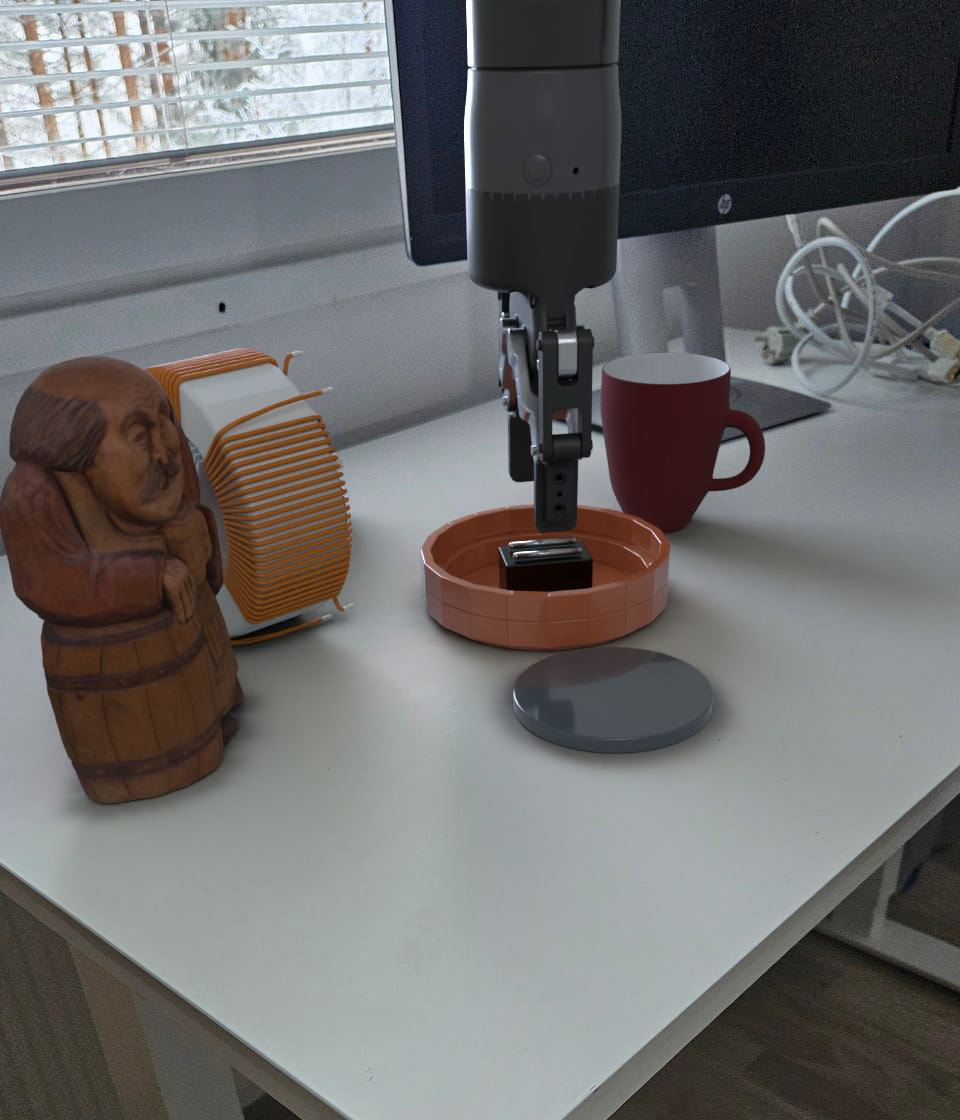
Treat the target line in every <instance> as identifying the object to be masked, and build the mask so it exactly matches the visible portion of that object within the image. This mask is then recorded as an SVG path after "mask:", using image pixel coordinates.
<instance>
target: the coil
mask: <svg viewBox="0 0 960 1120" xmlns="http://www.w3.org/2000/svg"><path fill="white" fill-rule="evenodd" d="M304 355H305V352H304V351H303V350H297V351H293V352H289V353H287V354H286V356H285V357H284V360H283V366H282V367H283V368H282V370H281V368H279V364H278V361H277V360H276V359H275V358H273V357H272V356H271V355H268V354H266V353H264V352H262V351H260V350H256V349H252V348H242V347H241V348H234V349H229V350H225V351H220V352H215V353H210V354H204V355H200V356H195V357H190V358H186V359H182V360H175V361H172V362H167V363H162V364H157V365H153V366H149V367H147V368H143V370H146V371H147V372H149V373H150V374H152V375H153V376H154V377H155V378H156V379H157V381H158V382H159V383H160V385H161V386H162V387H163V389H164V390H165V392H166V395H167V397H168V399H169V400H170V402H171V404H172V406H173V408H174V415H175V416H176V417H177V419H178V421H179V423H180V425H181V427H182V429H183V431H184V433H185V436H186V438H187V441H188V443H189V446H190V449H191V452H192V455H193V459H194V463H195V466H196V470H197V475H198V479H199V487H200V502H201V504H202V505H205V506H207V507H209V508H210V509H211V510H212V511H213V513H214V516H215V520H216V524H217V530H218V537H219V542H220V549H221V557H222V565H223V584H222V587H221V589H220V591H219V593H218V594H217V595H216V600H217V602H218V604H219V607H220V609H221V612H222V615H223V617H224V620H225V623H226V627H227V631H228V635H229V639H230V643H231V646H242V645H251V644H254V643H259V642H263V641H266V640H271V639H273V638H278V637H282V636H284V635H287V634H290V633H293V632H296V631H300V630H302V629H305V628H308V627H311V626H314V625H317V624H319V623H321V622H325V621H327V620H330V619H333V614H332V613H329V614H326V615H323V616H320V617H317V618H315V619H312V620H308V621H306V622H303V623H300V624H297V625H293V626H291V627H288V628H286V629H282V630H280V631H279V630H278V631H276V632H272V633H267V634H263V635H258V636H253V637H248V638H247V637H246V638H242V639H237V640H234V639H236V638H240V637H242V636H245V635H248V634H251V633H254V632H256V631H259V630H262V629H265V628H269V627H270V626H274V625H277V624H279V623H283V622H285V621H288V620H291V619H294V618H297V617H299V616H302V615H304V614H306V613H309V612H312V611H314V610H318V609H320V608H321V607H322V606H323V605H325V604H326V603H327V602H328V601H329V600H332V601H333V603H334V606H335V607H336V609H337V610H338V611H339V612H347V611H349V610H352V609H354V608H355V607H356V606H355V604H354V603H350V604H347V605H344V606H341V603H340V600H339V599H338V596H339V595H340V594H341V591H342V590H343V588H344V586H345V582H346V580H347V576H348V574H349V569H350V562H351V558H352V557H351V556H352V550H351V549H352V548H353V544H352V541H353V536H352V533H353V529H352V528H351V527H352V523H353V522H352V521H351V518H352V514H351V512H349V511H350V509H351V506H350V505H349V504H348V502H349V501H350V500H349V499H350V498H349V496H347V494H348V489H347V488H346V487H343V486H345V485H346V480H345V479H341V478H343V477H344V472H343V471H342V472H337V469H339V468H341V464H339V463H338V464H335V463H334V461H336V460H338V456H339V455H338V454H337V455H338V456H337V455H333V456H332V453H335V452H336V449H337V448H336V447H335V446H331V445H332V444H333V443H334V441H333V439H332V438H328V437H330V432H329V430H327V429H326V426H327V425H326V424H325V422H323V417H322V415H320V414H316V415H314V413H313V411H314V410H313V409H312V408H311V406H310V405H309V403H308V402H307V399H311V398H315V397H319V396H323V395H327V394H331V393H334V392H335V391H334V389H335V388H334V387H333V386H330V387H326V388H322V389H318V390H315V391H310V392H307V393H303V394H302V393H301V391H300V390H299V388H298V387H297V385H296V384H295V383H294V382H292V380H291V378H289V377H288V371H289V365H290V361H291V359H293V358H298V357H302V356H304Z"/></svg>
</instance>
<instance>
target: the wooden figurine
mask: <svg viewBox="0 0 960 1120" xmlns="http://www.w3.org/2000/svg"><path fill="white" fill-rule="evenodd" d="M9 432H10V433H9V446H8V447H9V448H8V454H9V455H8V456H9V457H10V459H11V460H12V461H13V462H15V465H14V467H13V469H12V470H11V472H10V473H9V474H8V475H7V477H6V478H5V480H4V483H3V487H2V489H1V493H0V536H1V539H2V543H3V547H4V550H5V554H6V558H7V562H8V566H9V572H10V576H11V583H12V588H13V592H14V594H15V596H16V598H18V600H19V601H20V602H21V603H22V604H23V605H24V606H25V607H26V608H27V609H28V610H30V611H31V612H32V613H34V614H36V616H37V617H38V618H39V619H41V620H42V621H43V622H42V626H41V633H40V646H41V657H42V659H41V661H42V668H43V672H44V678H45V683H46V691H47V692H46V693H47V695H48V699H49V702H50V705H51V709H52V712H53V715H54V718H55V722H56V726H57V729H58V732H59V737H60V739H61V742H62V745H63V747H64V750H65V752H66V756H67V757H68V759H69V760H70V763H71V766H72V768H73V770H74V771H75V774H76V777H77V779H78V781H79V783H80V785H81V787H82V790H83V792H84V794H85V795H86V796H87V798H88V799H89V800H90V801H92V802H93V803H99V804H118V803H125V802H131V801H136V800H142V799H151V798H155V797H158V796H162V795H165V794H166V793H169V792H172V791H176V790H179V789H184V788H186V787H188V786H190V785H193V784H194V783H196V782H199V780H201V779H202V778H204V777H205V776H207V775H209V774H211V773H213V772H214V771H216V769H217V768H218V767H219V766H220V765H221V764H222V763H223V755H224V747H225V746H227V745H228V744H229V743H230V741H231V737H232V736H233V735H234V734H235V733H236V732H237V731H238V729H239V720H238V718H237V717H236V716H235V715H233V713H232V712H231V710H232V709H234V708H235V707H237V706H238V705H240V704H242V702H244V700H245V694H244V692H243V691H244V690H243V688H242V685H241V682H240V679H239V676H238V673H239V672H238V671H239V664H238V661H237V658H236V656H235V652H234V650H233V645H231V643H230V639H229V635H228V631H227V627H226V623H225V620H224V617H223V615H222V612H221V609H220V607H219V604H218V602H217V600H216V595H217V594H218V593H219V591H220V589H221V587H222V584H223V565H222V557H221V549H220V542H219V537H218V530H217V524H216V520H215V516H214V513H213V511H212V510H211V509H210V508H209V507H207V506H205V505H202V504H201V502H200V487H199V479H198V475H197V470H196V466H195V463H194V459H193V455H192V452H191V449H190V446H189V443H188V441H187V438H186V436H185V433H184V431H183V429H182V427H181V425H180V423H179V421H178V419H177V417H176V416H175V415H174V408H173V406H172V404H171V402H170V400H169V399H168V397H167V395H166V392H165V390H164V389H163V387H162V386H161V385H160V383H159V382H158V381H157V379H156V378H155V377H154V376H153V375H152V374H150V373H149V372H147V371H146V370H144V368H141V367H139V366H137V365H135V364H134V363H132V362H129V361H127V360H125V359H120V358H115V357H111V356H103V355H89V356H80V357H75V358H71V359H67V360H64V361H62V362H58V363H55V364H52V365H50V366H48V367H46V368H45V369H44V370H42V371H41V372H40V373H39V374H38V375H37V376H36V377H35V378H34V379H33V380H32V382H31V383H30V384H29V385H28V386H27V387H26V389H24V392H23V394H21V397H20V398H19V400H18V402H17V403H16V407H15V409H14V414H13V418H12V420H11V424H10V431H9Z"/></svg>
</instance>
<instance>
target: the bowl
mask: <svg viewBox="0 0 960 1120" xmlns="http://www.w3.org/2000/svg"><path fill="white" fill-rule="evenodd" d="M570 537H574V538H576V540H577V541H580V540H582V541H583V543H584V545H585V546H586V548H587V550H588V551H589V553H590V555H591V557H592V558H593V582H592V588H588V589H578V590H566V591H555V592H534V591H510V590H505V589H500V587H499V547H508V546H509V543H511V542H522V541H534V540H546V539H558V538H570ZM671 548H672V544H671V541H670V540H669V539H668V537H667V536H666V535H665V533H663V532H662V531H661V530H660V529H659V528H657V527H655V526H654V525H652V524H650V523H648V522H646V521H645V520H643V519H641V518H639V517H635V516H632V515H629V514H625V513H623V511H618V510H614V509H610V508H605V507H597V506H590V505H583V504H577V524H576V526H575V527H574V529H572V530H570V531H562V532H548V533H543V532H540V531H539V530H538V529H537V527H536V525H535V523H534V503H533V504H521V505H509V506H502V507H498V508H497V507H496V508H493V509H487V510H482V511H478V512H473V513H471V514H468V515H465V516H462V517H459V518H456V519H454V520H451V521H449V522H446V523H445V524H443V525H442V526H440V527H438V528H437V529H436V530H434V531H433V532H431V533H430V534H428V535H427V537H426V539H425V540H424V542H423V544H422V546H421V548H420V569H421V583H422V584H421V585H422V597H423V602H424V605H425V609H426V612H427V614H428V615H429V617H431V618H432V619H434V620H435V621H436V622H437V623H438V624H439V625H440V626H441V627H443V628H444V629H446V630H449V631H451V632H455V633H456V634H458V635H460V636H462V637H464V638H466V639H469V640H472V641H475V642H478V643H482V644H485V645H489V646H493V647H498V648H504V649H511V650H522V651H526V650H527V651H562V650H563V651H564V650H574V649H583V648H588V647H592V646H597V645H600V644H604V643H608V642H611V641H614V640H618V639H620V638H622V637H625V636H627V635H630V634H631V633H633V632H635V631H637V630H638V629H641V628H643V627H644V626H646V625H648V624H649V625H650V624H651V622H653V621H655V620H656V618H657V617H658V616H659V615H660V614H661V613H662V612H663V611H664V610H665V609H666V607H667V603H668V595H669V584H670V567H671V565H670V564H671V550H672V549H671Z"/></svg>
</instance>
